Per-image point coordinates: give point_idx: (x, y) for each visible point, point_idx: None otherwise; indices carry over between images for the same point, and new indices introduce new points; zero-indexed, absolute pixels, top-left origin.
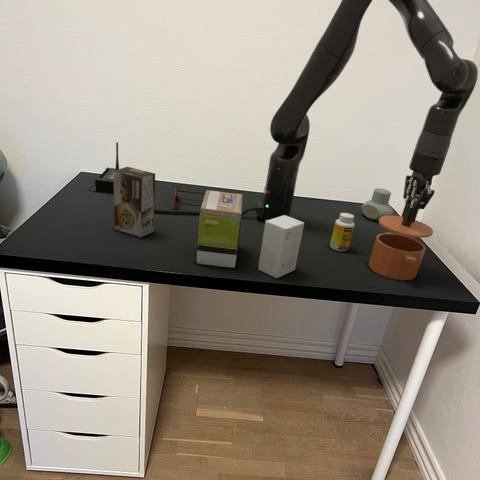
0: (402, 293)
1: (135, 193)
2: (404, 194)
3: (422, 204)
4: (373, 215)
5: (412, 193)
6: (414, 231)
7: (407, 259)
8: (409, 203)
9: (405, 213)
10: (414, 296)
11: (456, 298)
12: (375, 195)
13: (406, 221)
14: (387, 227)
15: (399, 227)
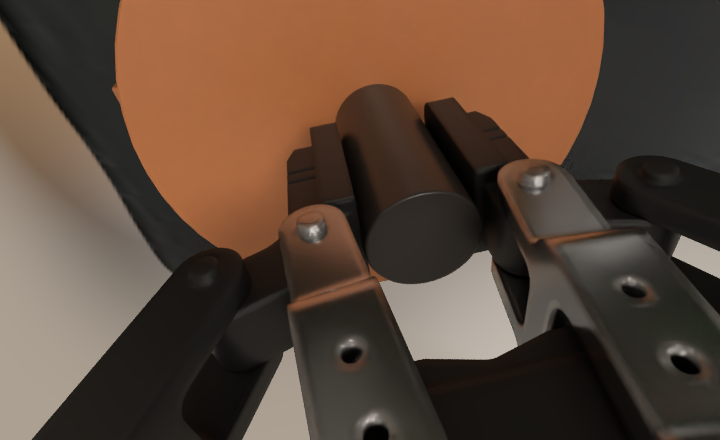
0: (50, 40)
1: None
2: (689, 184)
3: (228, 367)
4: None
5: (367, 346)
6: (239, 173)
7: (115, 85)
8: (460, 210)
9: (386, 134)
10: (62, 96)
11: (174, 246)
12: None
13: (315, 127)
14: None
15: (261, 48)
